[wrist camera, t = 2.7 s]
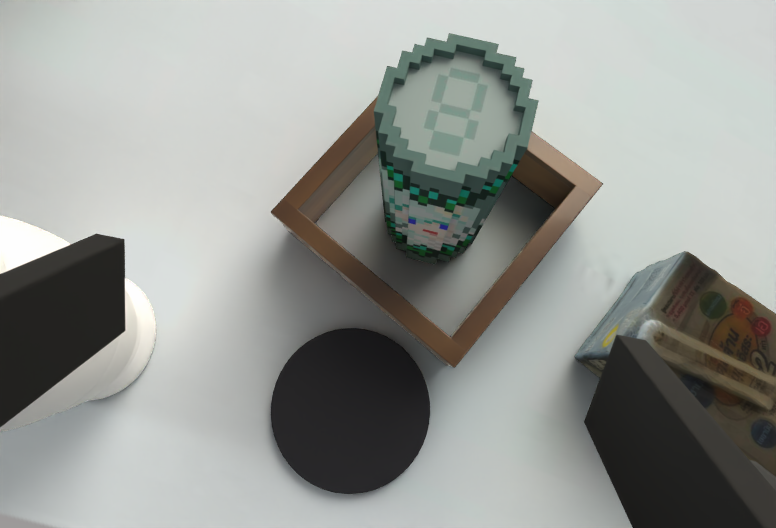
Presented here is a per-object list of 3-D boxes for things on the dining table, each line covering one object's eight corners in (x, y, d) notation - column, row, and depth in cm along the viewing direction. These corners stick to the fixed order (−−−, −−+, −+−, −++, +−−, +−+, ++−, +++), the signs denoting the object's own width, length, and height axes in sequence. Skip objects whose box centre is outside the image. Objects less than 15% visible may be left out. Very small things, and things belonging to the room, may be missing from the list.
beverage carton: (636, 263, 33) (695, 238, 26) (901, 458, 30) (1039, 483, 24) (567, 357, 32) (610, 355, 25) (835, 568, 29) (961, 626, 22)
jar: (206, 335, 33) (47, 310, 18) (84, 452, 31) (-196, 529, 17) (106, 227, 34) (-113, 123, 20) (-13, 334, 33) (-346, 308, 18)
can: (377, 249, 33) (359, 158, 19) (400, 168, 35) (400, 22, 20) (464, 272, 33) (516, 196, 18) (485, 189, 34) (548, 55, 19)
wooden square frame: (286, 231, 34) (269, 211, 30) (418, 87, 36) (420, 49, 32) (446, 367, 32) (454, 368, 27) (577, 206, 34) (603, 183, 29)
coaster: (240, 416, 31) (237, 417, 31) (343, 298, 33) (343, 296, 32) (358, 527, 30) (357, 530, 29) (461, 398, 31) (462, 399, 31)
